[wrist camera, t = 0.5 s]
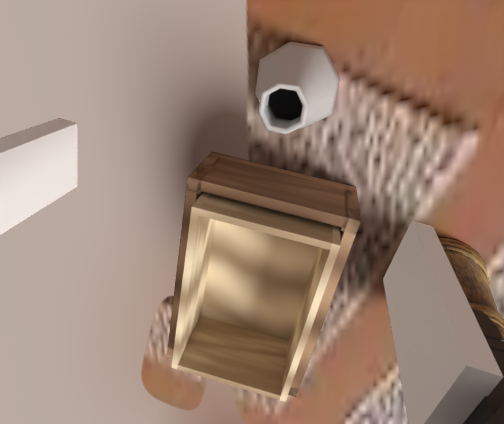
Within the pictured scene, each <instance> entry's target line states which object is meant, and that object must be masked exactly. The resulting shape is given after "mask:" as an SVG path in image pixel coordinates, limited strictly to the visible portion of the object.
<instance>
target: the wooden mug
mask: <svg viewBox="0 0 504 424" xmlns="http://www.w3.org/2000/svg"><path fill="white" fill-rule="evenodd" d="M439 241H440V243H441V245H442V247H443V249H444V251H445V253H446V256H447V258H448V260H449V262H450V264H451V266H452V268H453V270H454V273H455V275H456V277H457V279H458V281H459V283H460V285H461V288H462V290H463V292H464V294H465V296H466V298H467V300H468V302H469V305H470V307H471V308H474V309H477V310H480V311H483V312H484V313H485V314H486V315H487V316H488V317H489V318H490V319H491V320H492V321H493V323H494V324H495V325H496V326H497V327H498V329H499V331H500V333H501V335H502V337H503V339H504V319H503V317H502V315H500V314H499V313H498V310H497V307H496V305H495V302H494V299H493V296H492V293H491V290H490V287H489V283H490V282H489V278H488V274H487V270H486V267H485V264H484V262H483V260H482V258H481V256H480V254H479V253H478V252H476V251H475V250H474V249H472V248H471V247H470V246H468V245H466V244H464V243H462V242H460V241H457V240H453V239H448V238H439Z"/></svg>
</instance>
